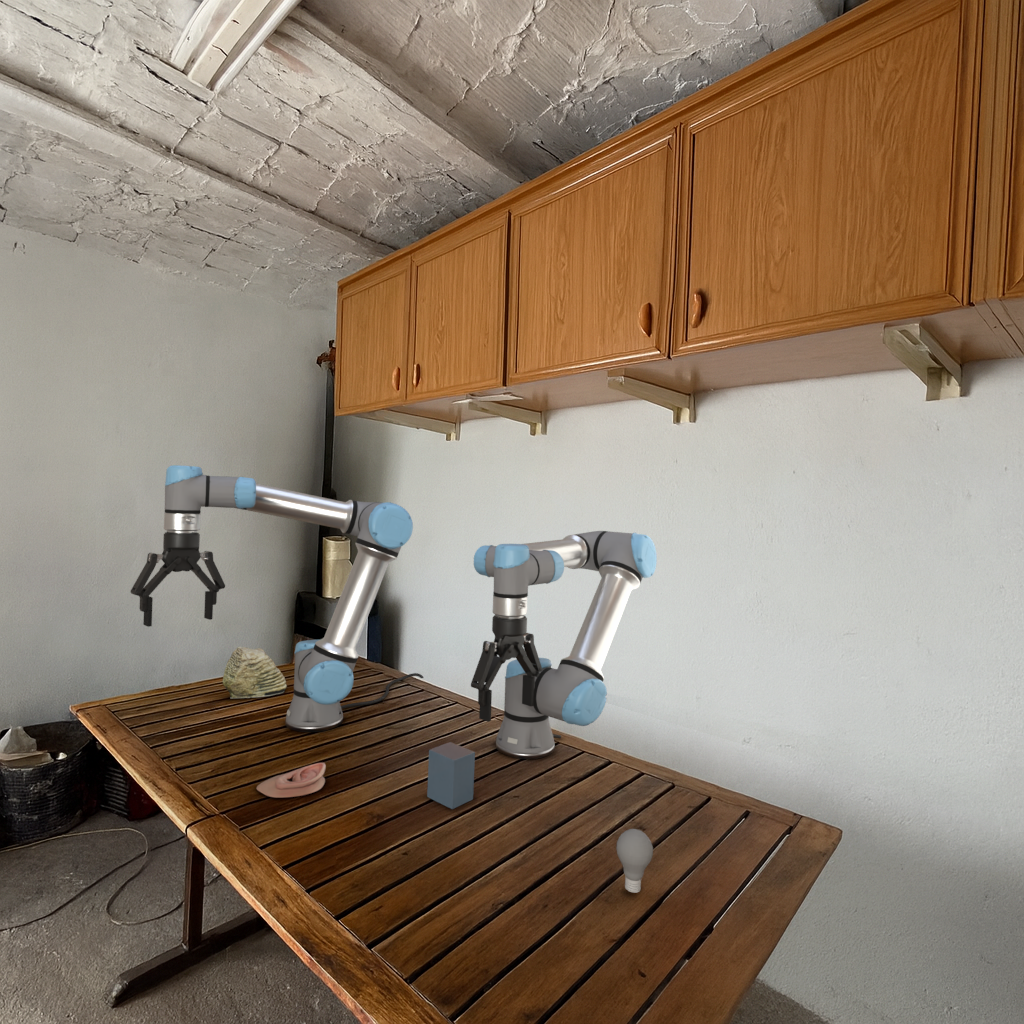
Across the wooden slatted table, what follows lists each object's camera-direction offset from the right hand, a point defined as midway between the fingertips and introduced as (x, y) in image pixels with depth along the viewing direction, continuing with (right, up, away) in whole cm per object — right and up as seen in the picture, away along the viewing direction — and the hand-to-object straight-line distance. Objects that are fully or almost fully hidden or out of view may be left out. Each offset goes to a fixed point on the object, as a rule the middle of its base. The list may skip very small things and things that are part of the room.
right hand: (507, 712), depth 138 cm
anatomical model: (-47, -16, -1) cm, 50 cm away
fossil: (-80, -14, +60) cm, 100 cm away
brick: (-12, -18, -2) cm, 22 cm away
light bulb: (+21, -20, -32) cm, 43 cm away
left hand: (-77, +18, +10) cm, 80 cm away
